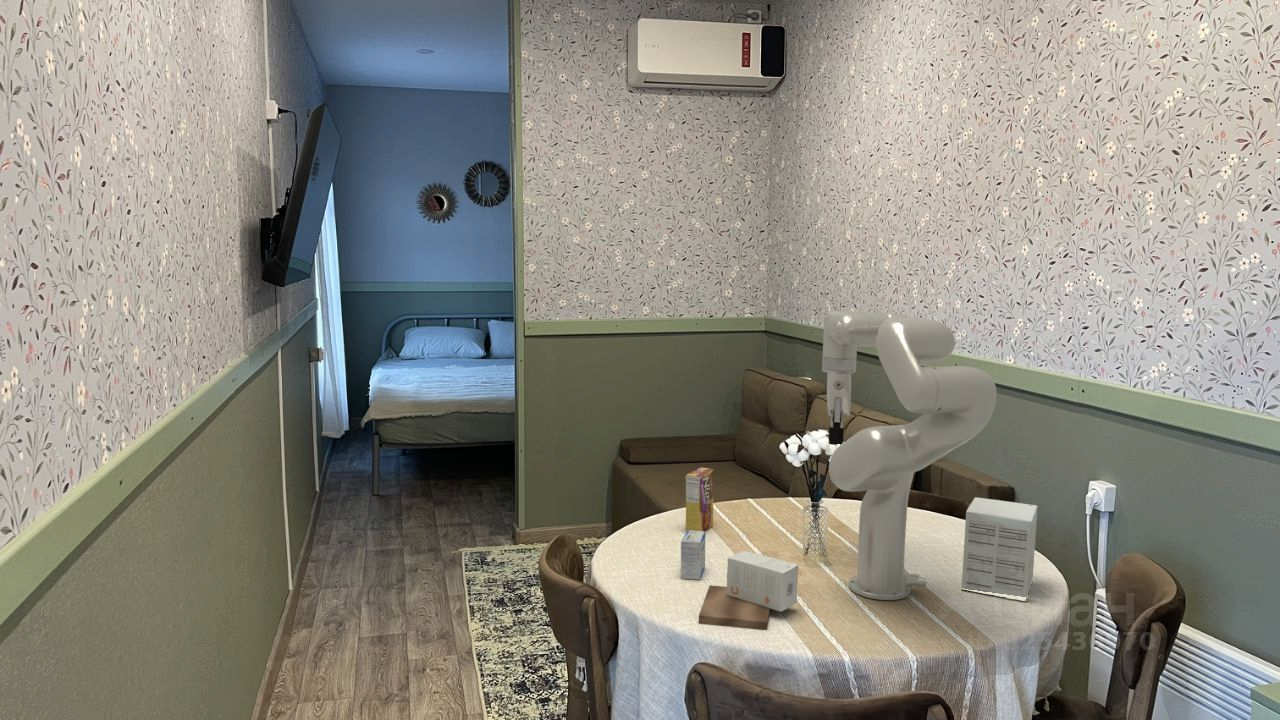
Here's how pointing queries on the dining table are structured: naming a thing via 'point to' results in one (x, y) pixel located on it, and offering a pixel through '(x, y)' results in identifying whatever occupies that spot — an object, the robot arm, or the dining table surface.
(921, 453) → the robot arm
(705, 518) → the candy box
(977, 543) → the supplement box
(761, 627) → the walnut board
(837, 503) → the dining table surface
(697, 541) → the medicine box
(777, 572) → the small box
